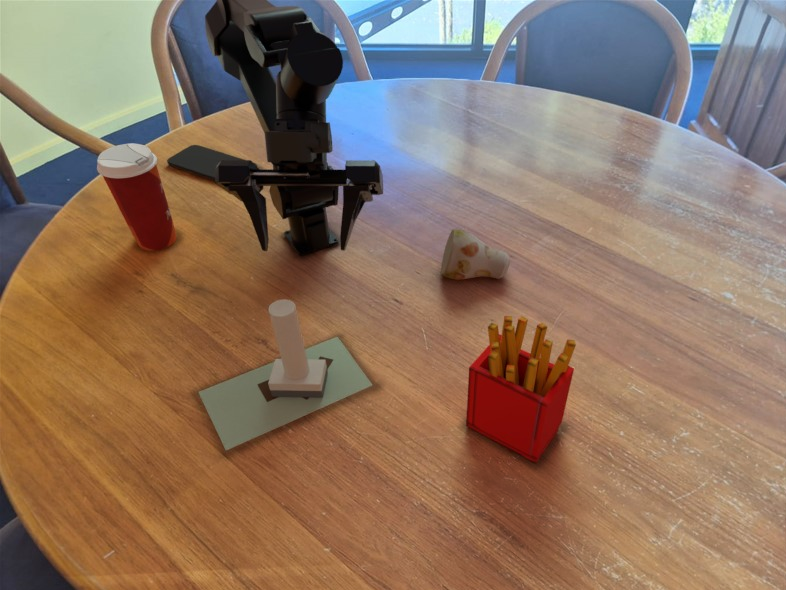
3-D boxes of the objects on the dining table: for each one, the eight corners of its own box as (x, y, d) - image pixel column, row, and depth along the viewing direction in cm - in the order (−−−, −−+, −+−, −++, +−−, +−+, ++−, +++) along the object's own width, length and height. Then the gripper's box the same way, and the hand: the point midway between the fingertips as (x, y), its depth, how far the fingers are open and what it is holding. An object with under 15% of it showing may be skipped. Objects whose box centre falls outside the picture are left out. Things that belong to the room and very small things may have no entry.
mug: (514, 291, 89) (485, 249, 82) (455, 304, 93) (422, 265, 86) (517, 251, 93) (489, 207, 85) (459, 265, 97) (428, 224, 90)
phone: (231, 183, 105) (163, 161, 109) (232, 187, 106) (165, 165, 110) (259, 164, 110) (193, 143, 114) (260, 168, 110) (195, 147, 114)
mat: (198, 394, 74) (197, 391, 73) (337, 338, 81) (337, 335, 81) (226, 452, 68) (225, 450, 68) (373, 387, 75) (372, 384, 75)
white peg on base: (271, 397, 73) (248, 319, 64) (279, 372, 76) (257, 294, 67) (323, 397, 73) (306, 321, 65) (328, 372, 76) (313, 296, 67)
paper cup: (195, 233, 96) (166, 149, 86) (158, 260, 91) (123, 174, 81) (156, 220, 98) (123, 136, 88) (118, 245, 93) (79, 160, 83)
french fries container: (495, 390, 76) (504, 304, 66) (562, 424, 72) (582, 338, 62) (464, 429, 71) (468, 343, 61) (534, 466, 68) (550, 381, 58)
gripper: (195, 90, 65) (198, 239, 65) (374, 92, 66) (376, 238, 66) (230, 127, 76) (232, 254, 76) (382, 128, 77) (384, 253, 78)
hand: (304, 250), depth 74 cm, fingers open, 9 cm apart
